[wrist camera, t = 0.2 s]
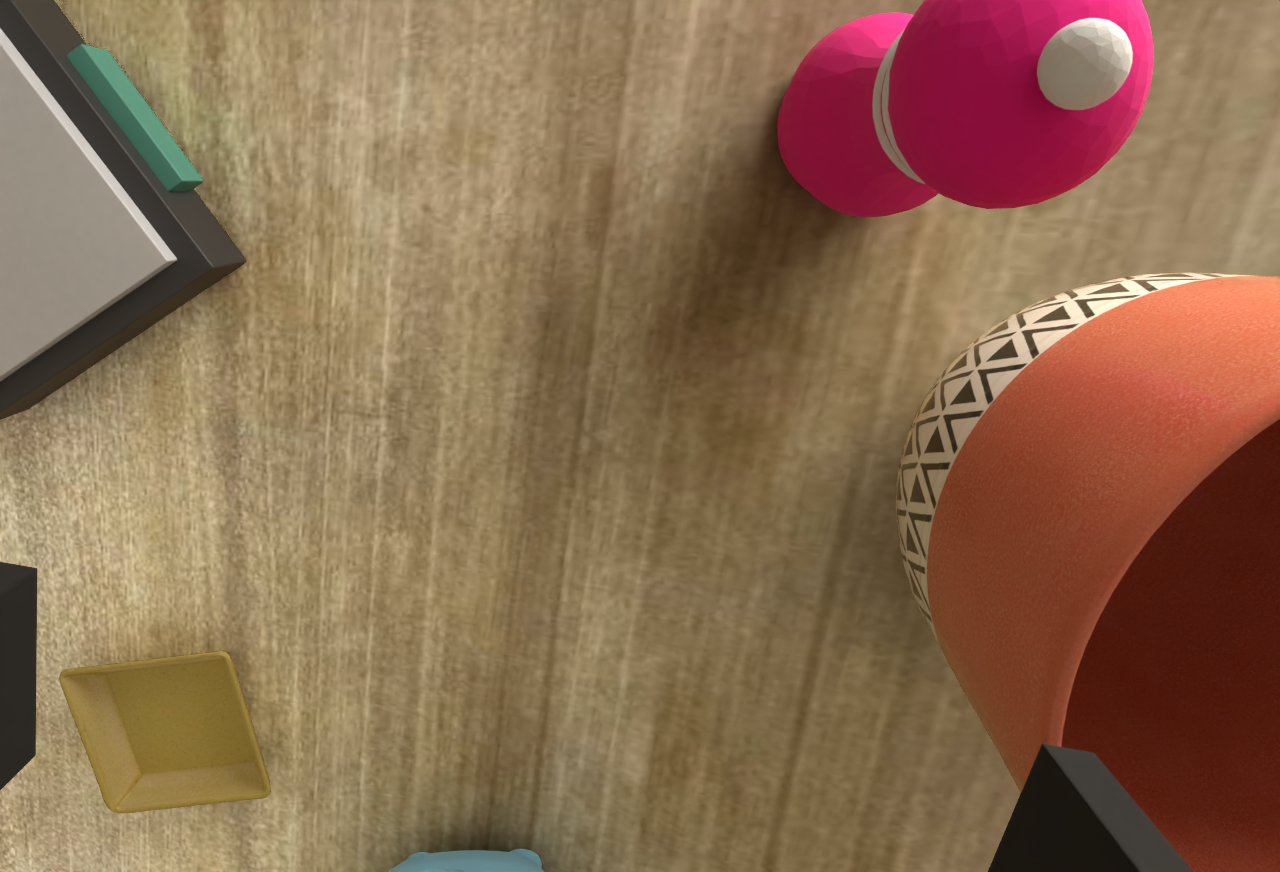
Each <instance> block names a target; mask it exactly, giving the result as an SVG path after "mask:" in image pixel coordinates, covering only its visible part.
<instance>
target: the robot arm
mask: <svg viewBox="0 0 1280 872" xmlns="http://www.w3.org/2000/svg"><path fill="white" fill-rule="evenodd" d="M36 640H37V568H32V567H26V566H20V565H15V564H9V563H3V562H0V790H1V789H2V788H3V787H4V786H5V785H6V784H7V783H8V782H9V781H10V780H11V779H12V778H13V777H14V776H15V775H16V774H17V773H18V772H19V771H20V770H21V769H22V768H23V767H24V766H25V765H26V764H27V763H28V762H29V761H30V760H31V759H32V758H33V757H34V756H35V754H36ZM988 872H1193V870H1192V869H1191V868H1190V867H1189V866H1188V864H1187V863H1186V862H1185V861H1184V860H1183V858H1182V857H1181V856H1180V855H1179V854H1178V852H1177V851H1176V850H1175V849H1174V848H1173V846H1172V845H1171V844H1170V843H1169V842H1168V840H1167V839H1166V838H1165V837H1164V836H1163V834H1162V833H1161V832H1160V831H1159V830H1158V828H1157V827H1156V826H1155V825H1154V824H1153V822H1152V821H1151V820H1150V819H1149V818H1148V816H1147V815H1146V814H1145V813H1144V812H1143V811H1142V809H1141V808H1140V807H1139V806H1138V805H1137V803H1136V802H1135V801H1134V800H1133V799H1132V797H1131V796H1130V795H1129V794H1128V793H1127V791H1126V790H1125V789H1124V788H1123V787H1122V785H1121V784H1120V783H1119V782H1118V781H1117V779H1116V778H1115V777H1114V776H1113V775H1112V773H1111V772H1110V771H1109V770H1108V769H1107V767H1106V766H1105V765H1104V764H1103V763H1102V761H1101V760H1100V759H1099V758H1098V757H1097V755H1096V754H1095V753H1093V752H1087V751H1082V750H1076V749H1070V748H1064V747H1059V746H1053V745H1047V744H1042V745H1041V747H1040V749H1039V752H1038V754H1037V757H1036V759H1035V761H1034V764H1033V766H1032V768H1031V771H1030V773H1029V776H1028V778H1027V780H1026V783H1025V785H1024V787H1023V790H1022V792H1021V794H1020V797H1019V799H1018V802H1017V804H1016V806H1015V809H1014V811H1013V813H1012V816H1011V818H1010V821H1009V823H1008V825H1007V828H1006V830H1005V832H1004V835H1003V837H1002V839H1001V842H1000V844H999V847H998V849H997V851H996V854H995V856H994V858H993V861H992V863H991V866H990V868H989V870H988Z"/></svg>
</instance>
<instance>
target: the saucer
mask: <svg viewBox="0 0 1280 872" xmlns="http://www.w3.org/2000/svg"><path fill="white" fill-rule="evenodd" d="M59 680H60V684H61V687H62V689H63V692H64V695H65V697H66V700H67V702H68V705H69V708H70V711H71V713H72V716H73V718H74V721H75V724H76V726H77V728H78V731H79V734H80V736H81V740H82V742H83V744H84V747H85V749H86V753H87V755H88V757H89V760H90V763H91V766H92V768H93V771H94V773H95V776H96V780H97V782H98V784H99V787H100V790H101V794H102V796H103V799H104V802H105V804H106V806H107V807H108V808H109V809H110V810H112V811H114V812H117V813H134V812H143V811H150V810H159V809H169V808H177V807H185V806H193V805H204V804H211V803H222V802H232V801H240V800H250V799H262V798H266V797H267V796H268V795H269V794H270V792H271V786H270V780H269V776H268V772H267V769H266V766H265V763H264V759H263V756H262V753H261V750H260V747H259V744H258V740H257V737H256V734H255V730H254V727H253V724H252V721H251V718H250V714H249V711H248V708H247V705H246V702H245V698H244V695H243V692H242V689H241V686H240V682H239V679H238V676H237V672H236V669H235V666H234V663H233V659H232V657H231V655H230V654H229V653H228V652H225V651H216V652H208V653H199V654H191V655H183V656H174V657H166V658H158V659H149V660H141V661H132V662H124V663H115V664H107V665H98V666H89V667H80V668H73V669H66V670H63V671H62V672H61V673H60V677H59Z"/></svg>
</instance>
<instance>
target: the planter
mask: <svg viewBox="0 0 1280 872" xmlns="http://www.w3.org/2000/svg"><path fill="white" fill-rule="evenodd" d="M896 515H897V530H898V537H899V544H900V549H901V553H902V558H903V562H904V566H905V570H906V575H907V578H908V581H909V584H910V587H911V590H912V592H913V595H914V597H915V599H916V601H917V604H918V606H919V608H920V611H921V613H922V615H923V617H924V620H925V622H926V624H927V626H928V627H929V629H930V631H931V633H932V635H933V636H934V638H935V640H936V642H937V644H938V645H939V647H940V649H941V651H942V653H943V655H944V656H945V658H946V660H947V662H948V664H949V666H950V667H951V669H952V671H953V673H954V675H955V677H956V678H957V680H958V682H959V684H960V686H961V688H962V689H963V691H964V693H965V695H966V697H967V698H968V700H969V702H970V704H971V705H972V707H973V709H974V710H975V712H976V714H977V716H978V717H979V719H980V721H981V722H982V724H983V726H984V728H985V729H986V731H987V733H988V734H989V736H990V738H991V740H992V741H993V743H994V745H995V747H996V748H997V750H998V752H999V754H1000V755H1001V757H1002V759H1003V761H1004V763H1005V765H1006V766H1007V768H1008V770H1009V772H1010V774H1011V776H1012V777H1013V779H1014V781H1015V783H1016V785H1017V787H1018V789H1019V791H1020V792H1022V790H1023V787H1024V785H1025V783H1026V780H1027V778H1028V776H1029V773H1030V771H1031V768H1032V766H1033V764H1034V761H1035V759H1036V757H1037V754H1038V752H1039V749H1040V747H1041V745H1042V744H1047V745H1053V746H1059V747H1064V748H1070V749H1076V750H1082V751H1087V752H1093V753H1095V754H1096V755H1097V757H1098V758H1099V759H1100V760H1101V761H1102V763H1103V764H1104V765H1105V766H1106V767H1107V769H1108V770H1109V771H1110V772H1111V773H1112V775H1113V776H1114V777H1115V778H1116V779H1117V781H1118V782H1119V783H1120V784H1121V785H1122V787H1123V788H1124V789H1125V790H1126V791H1127V793H1128V794H1129V795H1130V796H1131V797H1132V799H1133V800H1134V801H1135V802H1136V803H1137V805H1138V806H1139V807H1140V808H1141V809H1142V811H1143V812H1144V813H1145V814H1146V815H1147V816H1148V818H1149V819H1150V820H1151V821H1152V822H1153V824H1154V825H1155V826H1156V827H1157V828H1158V830H1159V831H1160V832H1161V833H1162V834H1163V836H1164V837H1165V838H1166V839H1167V840H1168V842H1169V843H1170V844H1171V845H1172V846H1173V848H1174V849H1175V850H1176V851H1177V852H1178V854H1179V855H1180V856H1181V857H1182V858H1183V860H1184V861H1185V862H1186V863H1187V864H1188V866H1189V867H1190V868H1191V869H1192V870H1193V872H1280V277H1268V276H1248V275H1230V274H1214V273H1164V274H1149V275H1139V276H1132V277H1126V278H1120V279H1115V280H1109V281H1104V282H1100V283H1095V284H1091V285H1087V286H1083V287H1080V288H1076V289H1073V290H1070V291H1067V292H1064V293H1061V294H1058V295H1055V296H1053V297H1050V298H1048V299H1045V300H1042V301H1040V302H1037V303H1035V304H1033V305H1031V306H1029V307H1027V308H1025V309H1023V310H1021V311H1019V312H1017V313H1015V314H1014V315H1012V316H1010V317H1008V318H1007V319H1005V320H1004V321H1002V322H1000V323H999V324H997V325H996V326H994V327H993V328H991V329H990V330H988V331H987V332H986V333H984V334H983V335H982V336H980V337H979V338H978V339H977V340H975V341H974V342H973V343H972V344H971V345H970V346H968V347H967V348H966V349H965V350H964V351H963V352H962V353H961V354H960V355H959V356H958V357H957V358H956V359H955V360H954V361H953V362H952V363H951V364H950V365H949V366H948V368H947V369H946V370H945V371H944V372H943V373H942V375H941V376H940V377H939V379H938V380H937V381H936V383H935V384H934V385H933V387H932V388H931V390H930V391H929V393H928V395H927V396H926V398H925V399H924V401H923V403H922V405H921V407H920V408H919V410H918V412H917V414H916V416H915V419H914V421H913V423H912V425H911V428H910V430H909V433H908V436H907V439H906V442H905V446H904V449H903V453H902V457H901V461H900V466H899V472H898V479H897V488H896Z"/></svg>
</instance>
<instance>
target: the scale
mask: <svg viewBox="0 0 1280 872" xmlns="http://www.w3.org/2000/svg"><path fill="white" fill-rule="evenodd" d="M202 182H203V179H202V177H201V176H200V175H199V173H198V172H197V171H196V169H195V168H194V167H193V165H192V164H191V162H190V161H189V160H188V158H187V157H186V156H185V154H184V153H183V152H182V150H181V149H180V147H179V146H178V145H177V143H176V142H175V141H174V139H173V138H172V137H171V135H170V134H169V133H168V131H167V130H166V128H165V127H164V126H163V124H162V123H161V122H160V120H159V119H158V118H157V116H156V115H155V114H154V112H153V111H152V109H151V108H150V107H149V105H148V104H147V103H146V101H145V100H144V99H143V97H142V96H141V94H140V93H139V92H138V90H137V89H136V88H135V86H134V85H133V84H132V82H131V81H130V80H129V78H128V77H127V75H126V74H125V73H124V71H123V70H122V69H121V67H120V66H119V65H118V63H117V62H116V61H115V59H114V58H113V56H112V55H111V54H110V52H109V51H108V50H104V49H100V48H96V47H92V46H89V45H86V43H85V42H84V41H83V39H82V38H81V36H80V35H79V34H78V32H77V31H76V30H75V28H74V27H73V26H72V24H71V23H70V22H69V20H68V19H67V18H66V16H65V15H64V14H63V12H62V11H61V10H60V8H59V7H58V5H57V4H56V3H55V1H54V0H0V420H1V419H3V418H6V417H9V416H11V415H14V414H17V413H19V412H22V411H25V410H27V409H29V408H31V407H32V406H34V405H35V404H37V403H38V402H40V401H41V400H42V399H44V398H45V397H47V396H48V395H50V394H51V393H53V392H54V391H56V390H57V389H59V388H60V387H62V386H63V385H65V384H66V383H68V382H69V381H71V380H72V379H74V378H75V377H77V376H78V375H79V374H81V373H82V372H84V371H85V370H87V369H88V368H90V367H91V366H93V365H94V364H96V363H97V362H99V361H100V360H102V359H103V358H105V357H106V356H108V355H109V354H111V353H112V352H113V351H115V350H116V349H118V348H119V347H121V346H122V345H124V344H125V343H127V342H128V341H130V340H131V339H133V338H134V337H136V336H137V335H139V334H140V333H142V332H143V331H145V330H146V329H148V328H149V327H150V326H152V325H153V324H155V323H156V322H158V321H159V320H161V319H162V318H164V317H165V316H167V315H168V314H170V313H171V312H173V311H174V310H176V309H177V308H179V307H180V306H182V305H183V304H185V303H186V302H187V301H189V300H190V299H192V298H193V297H195V296H196V295H198V294H199V293H201V292H202V291H204V290H205V289H207V288H208V287H210V286H211V285H213V284H214V283H216V282H217V281H219V280H220V279H221V278H223V277H224V276H226V275H227V274H229V273H230V272H232V271H233V270H235V269H236V268H238V267H239V266H241V265H242V264H244V263H245V262H246V259H245V258H244V256H243V255H242V254H241V252H240V251H239V250H238V248H237V247H236V246H235V244H234V243H233V242H232V240H231V239H230V237H229V236H228V235H227V233H226V232H225V231H224V229H223V228H222V227H221V225H220V224H219V223H218V221H217V220H216V219H215V217H214V216H213V215H212V213H211V212H210V210H209V209H208V208H207V206H206V205H205V204H204V202H203V201H202V200H201V198H200V197H199V196H198V194H197V193H196V192H195V190H194V189H193V188H195V187H196V186H198V185H199V184H201V183H202Z"/></svg>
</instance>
